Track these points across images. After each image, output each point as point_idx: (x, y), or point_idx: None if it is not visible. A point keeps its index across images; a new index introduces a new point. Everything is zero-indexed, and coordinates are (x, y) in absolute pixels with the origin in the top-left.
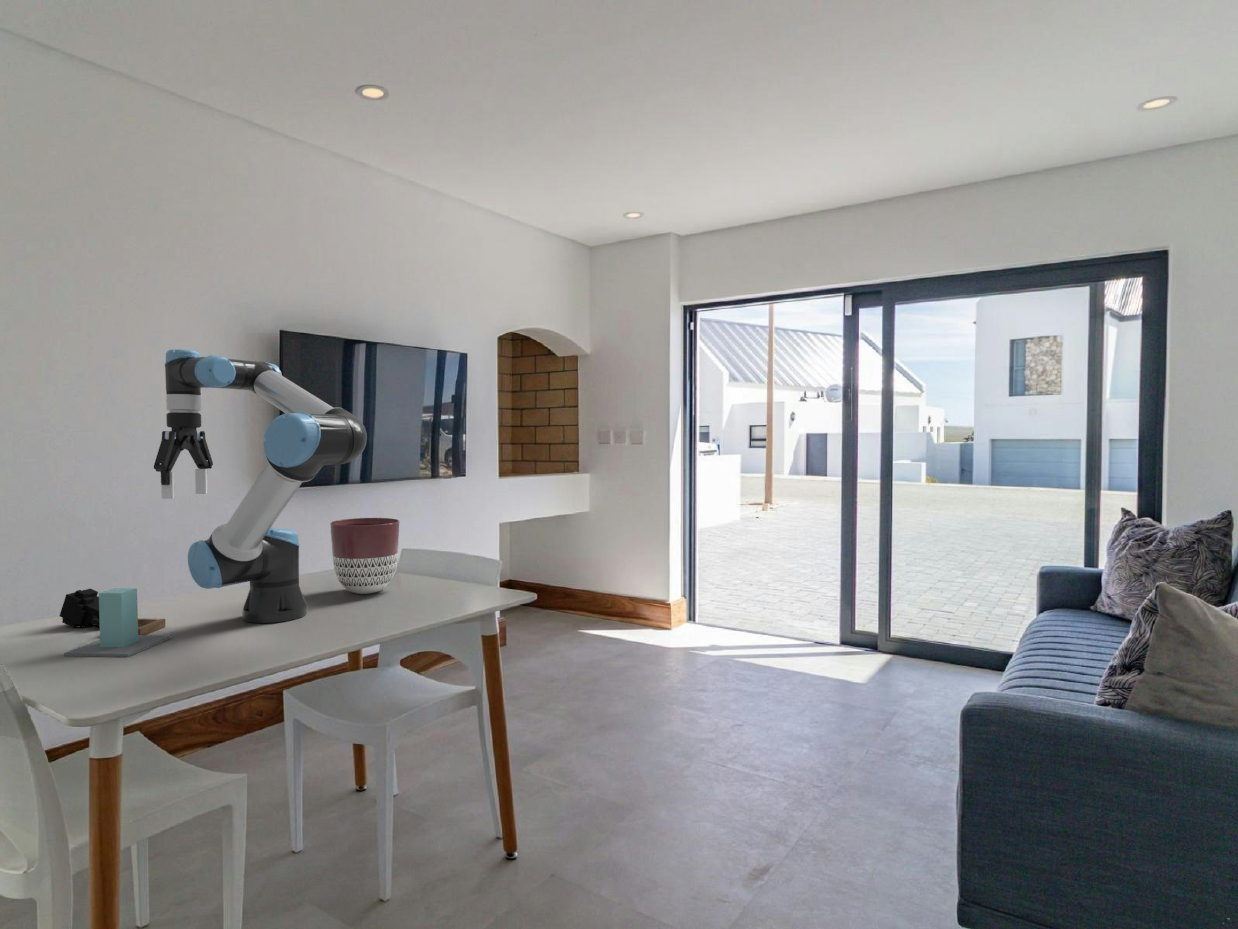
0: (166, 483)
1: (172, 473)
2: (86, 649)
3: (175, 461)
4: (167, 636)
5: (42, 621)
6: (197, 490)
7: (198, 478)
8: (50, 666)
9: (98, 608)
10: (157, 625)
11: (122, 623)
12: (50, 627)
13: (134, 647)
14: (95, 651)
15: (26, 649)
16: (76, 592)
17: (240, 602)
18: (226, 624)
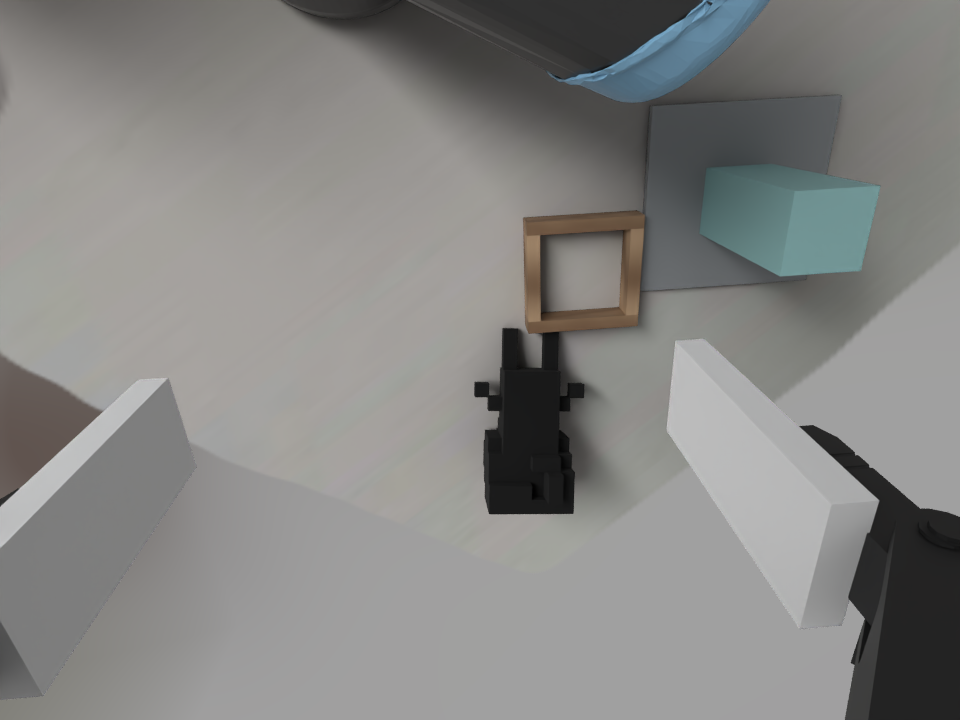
0: (829, 438)
1: (854, 485)
2: None
3: (894, 658)
4: (662, 109)
5: (495, 551)
6: (178, 470)
7: (106, 551)
8: (886, 241)
9: (547, 420)
10: (563, 218)
11: (808, 172)
12: None
13: (775, 127)
14: None
15: None
16: (561, 500)
17: (171, 181)
18: None
